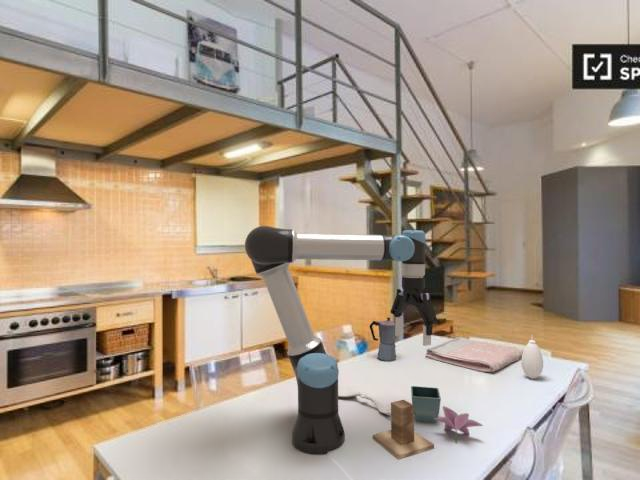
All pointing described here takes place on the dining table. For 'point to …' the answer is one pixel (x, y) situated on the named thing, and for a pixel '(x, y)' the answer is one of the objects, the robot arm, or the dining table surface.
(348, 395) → the white spork
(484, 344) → the towel
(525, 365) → the white tall oval piece
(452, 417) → the lily
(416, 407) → the flower pot
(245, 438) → the dining table surface
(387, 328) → the moka pot
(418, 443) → the lid
